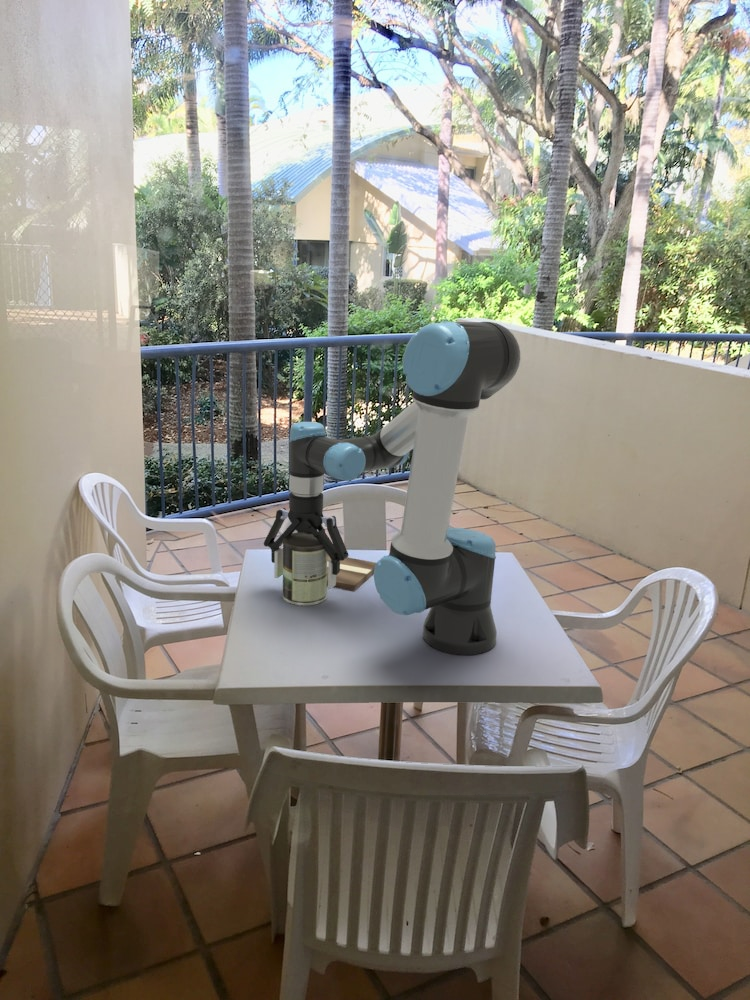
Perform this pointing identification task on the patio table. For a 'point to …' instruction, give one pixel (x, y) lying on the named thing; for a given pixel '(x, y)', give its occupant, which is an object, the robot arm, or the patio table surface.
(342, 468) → the robot arm
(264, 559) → the patio table surface
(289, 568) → the coffee can
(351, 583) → the board
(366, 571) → the strip
